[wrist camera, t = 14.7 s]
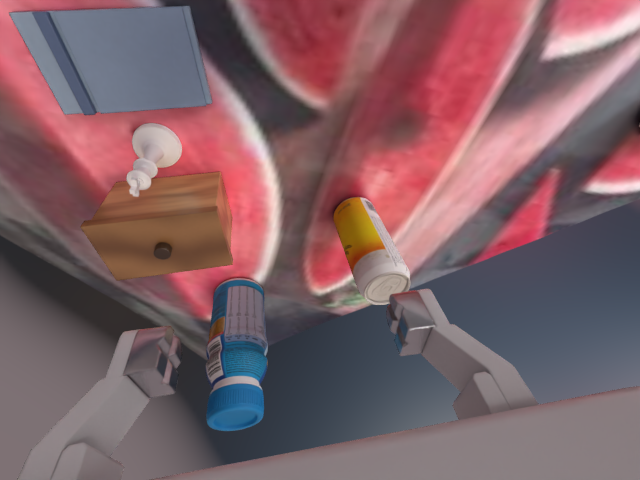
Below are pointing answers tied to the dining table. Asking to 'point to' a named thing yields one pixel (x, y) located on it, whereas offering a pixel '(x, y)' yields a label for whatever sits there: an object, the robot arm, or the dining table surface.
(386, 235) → the yellow cylinder
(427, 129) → the dining table surface
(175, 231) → the bread box
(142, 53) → the grey flat slab
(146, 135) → the chess piece
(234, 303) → the beverage bottle
